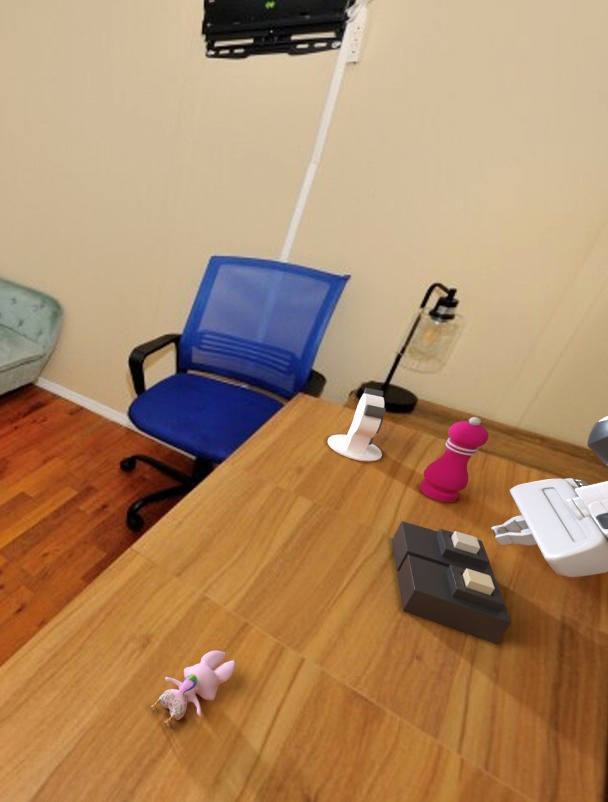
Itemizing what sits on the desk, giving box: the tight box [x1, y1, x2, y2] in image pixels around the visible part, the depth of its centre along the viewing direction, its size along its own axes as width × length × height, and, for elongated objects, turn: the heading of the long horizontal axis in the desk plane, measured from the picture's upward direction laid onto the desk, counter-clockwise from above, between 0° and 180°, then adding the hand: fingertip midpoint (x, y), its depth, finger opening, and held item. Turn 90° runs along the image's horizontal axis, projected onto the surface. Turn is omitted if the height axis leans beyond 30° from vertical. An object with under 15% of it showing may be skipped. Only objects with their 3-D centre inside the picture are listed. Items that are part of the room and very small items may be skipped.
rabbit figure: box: [150, 650, 236, 728], centre depth 74 cm, size 6×6×15 cm
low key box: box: [391, 520, 496, 579], centre depth 93 cm, size 12×9×7 cm
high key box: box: [397, 555, 512, 645], centre depth 86 cm, size 12×9×7 cm
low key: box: [451, 530, 480, 554], centre depth 90 cm, size 3×3×2 cm
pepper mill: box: [419, 416, 489, 503], centre depth 109 cm, size 7×7×20 cm
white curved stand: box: [327, 387, 387, 463], centre depth 125 cm, size 12×11×15 cm
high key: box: [462, 568, 495, 595], centre depth 83 cm, size 3×3×2 cm
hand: (495, 536), depth 87 cm, fingers closed
